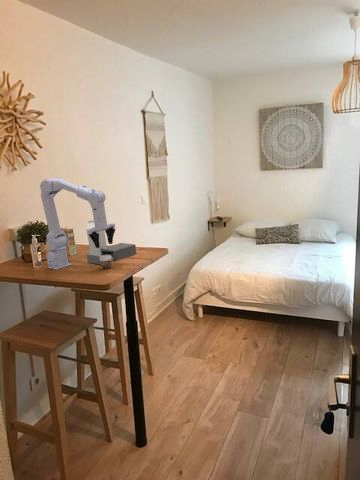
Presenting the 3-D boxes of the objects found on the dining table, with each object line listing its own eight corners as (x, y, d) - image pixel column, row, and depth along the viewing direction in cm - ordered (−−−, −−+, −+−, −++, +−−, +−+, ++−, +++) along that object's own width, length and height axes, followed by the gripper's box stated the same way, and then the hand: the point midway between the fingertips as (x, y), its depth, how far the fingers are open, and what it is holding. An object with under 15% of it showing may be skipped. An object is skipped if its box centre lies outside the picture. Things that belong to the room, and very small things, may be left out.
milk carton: (102, 255, 207) (97, 221, 203) (90, 256, 209) (85, 222, 205) (107, 252, 214) (102, 219, 210) (95, 253, 216) (90, 219, 212)
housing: (115, 260, 194) (114, 250, 193) (101, 258, 202) (100, 248, 201) (136, 254, 204) (135, 244, 203) (122, 251, 212) (120, 242, 211)
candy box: (77, 254, 217) (73, 227, 214) (70, 256, 214) (66, 229, 211) (70, 252, 223) (65, 226, 220) (63, 254, 220) (59, 228, 217)
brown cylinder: (106, 269, 180) (104, 261, 179) (101, 268, 183) (99, 260, 182) (112, 267, 183) (111, 259, 182) (107, 266, 185) (106, 258, 185)
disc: (104, 261, 178) (104, 258, 178) (97, 260, 182) (97, 257, 181) (114, 258, 182) (113, 255, 182) (106, 257, 186) (106, 254, 185)
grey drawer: (101, 264, 188) (100, 256, 187) (87, 262, 196) (86, 254, 195) (124, 257, 198) (123, 249, 197) (109, 255, 206) (108, 247, 205)
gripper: (92, 220, 170) (96, 250, 173) (117, 214, 181) (121, 242, 183) (82, 220, 175) (87, 249, 178) (108, 214, 185) (112, 241, 188)
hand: (104, 245), depth 181 cm, fingers open, 7 cm apart
